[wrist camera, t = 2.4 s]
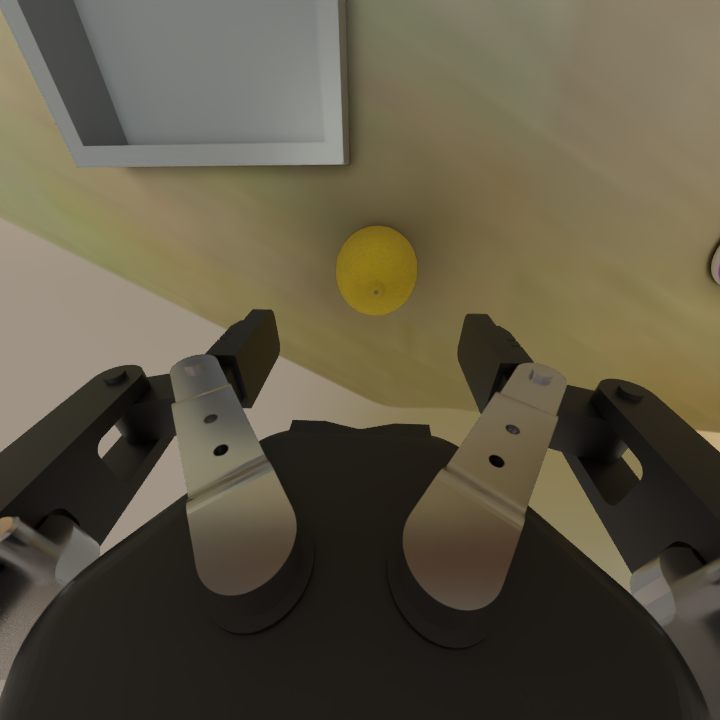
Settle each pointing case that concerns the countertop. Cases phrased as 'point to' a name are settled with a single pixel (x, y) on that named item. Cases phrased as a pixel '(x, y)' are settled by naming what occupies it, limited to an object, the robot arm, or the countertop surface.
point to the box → (190, 79)
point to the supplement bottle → (716, 266)
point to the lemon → (376, 270)
